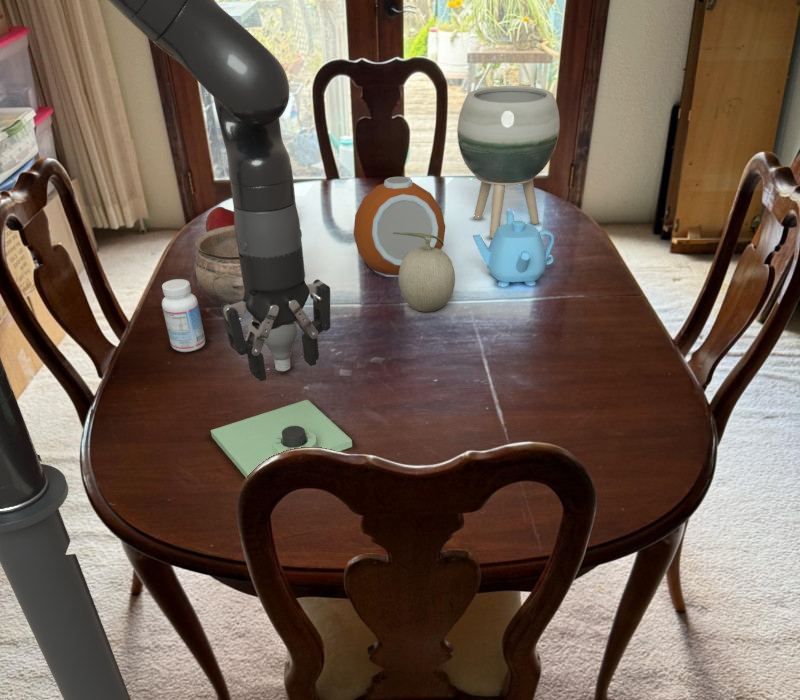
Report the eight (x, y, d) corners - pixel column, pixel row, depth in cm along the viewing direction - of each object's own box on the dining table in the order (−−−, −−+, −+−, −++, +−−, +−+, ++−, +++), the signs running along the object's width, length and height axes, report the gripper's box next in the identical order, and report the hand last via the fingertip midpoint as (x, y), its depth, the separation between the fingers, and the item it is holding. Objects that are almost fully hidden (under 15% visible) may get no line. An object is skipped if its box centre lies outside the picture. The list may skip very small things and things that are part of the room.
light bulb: (296, 379, 128) (289, 322, 122) (261, 377, 129) (252, 320, 123) (305, 362, 133) (299, 306, 127) (271, 360, 134) (263, 304, 127)
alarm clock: (362, 286, 158) (357, 197, 147) (349, 255, 171) (344, 171, 160) (453, 277, 161) (456, 189, 150) (434, 248, 174) (435, 165, 163)
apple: (241, 249, 176) (235, 212, 171) (205, 249, 176) (199, 213, 171) (246, 237, 182) (241, 201, 177) (212, 238, 182) (206, 202, 177)
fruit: (466, 303, 151) (469, 223, 141) (434, 324, 143) (435, 242, 134) (421, 291, 155) (421, 214, 146) (388, 312, 148) (385, 232, 139)
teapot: (463, 278, 160) (465, 222, 153) (505, 260, 167) (509, 205, 160) (522, 299, 152) (527, 240, 144) (564, 279, 159) (570, 222, 152)
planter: (454, 212, 193) (457, 84, 175) (544, 211, 192) (556, 83, 174) (455, 243, 176) (459, 106, 158) (554, 243, 175) (569, 104, 157)
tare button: (289, 451, 107) (287, 440, 106) (279, 440, 109) (277, 430, 108) (310, 444, 109) (308, 433, 108) (299, 433, 111) (298, 423, 110)
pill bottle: (195, 334, 142) (183, 274, 135) (212, 346, 139) (200, 284, 131) (165, 344, 139) (151, 283, 132) (181, 356, 136) (167, 294, 129)
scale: (253, 487, 106) (250, 468, 104) (211, 437, 115) (208, 419, 113) (356, 450, 112) (354, 432, 110) (308, 405, 122) (306, 388, 120)
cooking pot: (209, 280, 162) (198, 220, 154) (300, 275, 163) (294, 215, 155) (195, 332, 143) (181, 266, 135) (298, 327, 144) (291, 261, 136)
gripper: (309, 222, 97) (320, 345, 107) (199, 246, 91) (223, 374, 102) (338, 239, 92) (347, 367, 102) (224, 265, 86) (246, 398, 97)
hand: (285, 370), depth 102 cm, fingers open, 6 cm apart
